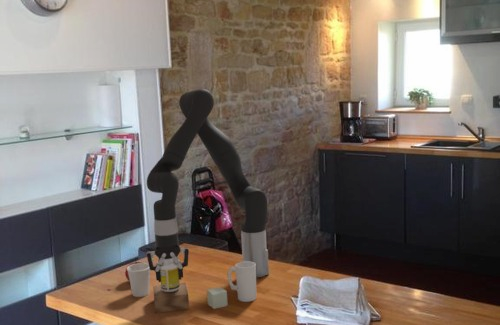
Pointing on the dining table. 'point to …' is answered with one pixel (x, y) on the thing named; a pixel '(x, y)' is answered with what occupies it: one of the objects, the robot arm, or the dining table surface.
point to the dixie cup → (139, 279)
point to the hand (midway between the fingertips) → (169, 279)
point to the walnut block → (171, 299)
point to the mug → (244, 280)
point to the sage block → (217, 297)
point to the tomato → (127, 271)
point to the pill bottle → (169, 276)
